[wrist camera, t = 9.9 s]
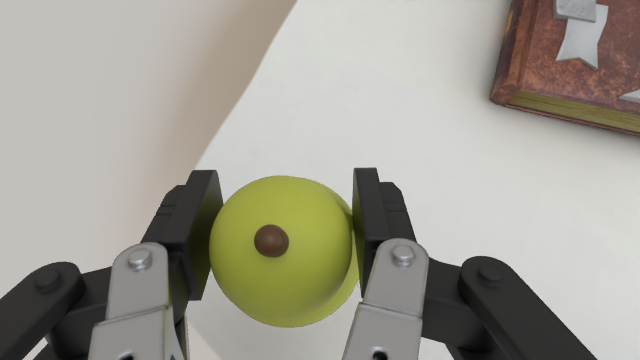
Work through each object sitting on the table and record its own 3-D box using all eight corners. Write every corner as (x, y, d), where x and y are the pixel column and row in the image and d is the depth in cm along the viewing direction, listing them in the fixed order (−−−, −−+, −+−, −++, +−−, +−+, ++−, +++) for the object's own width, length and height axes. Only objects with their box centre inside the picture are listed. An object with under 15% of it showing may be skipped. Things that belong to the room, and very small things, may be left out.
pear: (263, 339, 17) (195, 432, 8) (213, 222, 18) (100, 179, 9) (377, 281, 17) (445, 303, 8) (323, 171, 18) (329, 78, 9)
